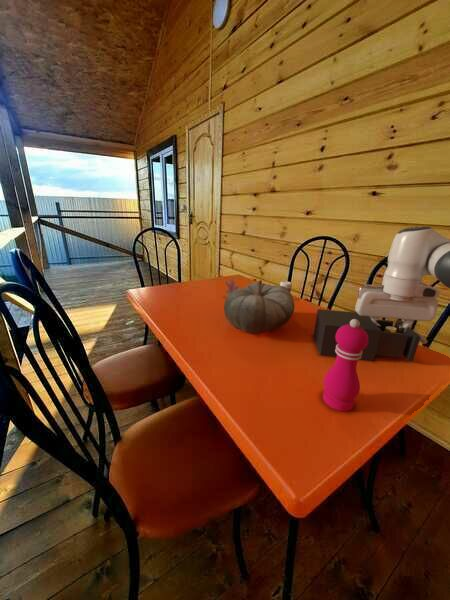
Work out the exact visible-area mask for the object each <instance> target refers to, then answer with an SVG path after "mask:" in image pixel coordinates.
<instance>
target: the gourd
mask: <svg viewBox="0 0 450 600" xmlns="http://www.w3.org/2000/svg"><path fill="white" fill-rule="evenodd" d="M223 312H224V313H223V314H224V316H225V319H226V320H227V322H229V324H231V326H232V327H234V328H235V329H237V330H241V331H243V332H244V333H247V334H249V335H254V336H258V335H262V334H266V333H269V332H273V331H276V330H279V329H281V328H282V327H283V326H285V325H286V324H287V323H288V322H289V321H290V319H291V318H292V316H293V315H294V312H295V300H294V297H293V295H292V293H290V292H289V290H288V289H287V288H286V287H284V286H280V285H275V284H274V285H271V284H268V283H267V284H266V283H264V282H263V281H262V280H258V282H253V283H250V284H248V285H247V286H244V287H243V288H239V289H238V290H234V291H232V292H231V293H230V294H227V295H226V297H225V300H224V305H223Z"/></svg>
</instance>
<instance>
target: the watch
mask: <svg viewBox="0 0 450 600" xmlns="http://www.w3.org/2000/svg"><path fill="white" fill-rule="evenodd" d="M396 330H397V329H396V328H395V326H392V327H391V326H387V327H386V328H385V330H384V332H389V331H390V332H393V333H396Z"/></svg>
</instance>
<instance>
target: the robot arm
mask: <svg viewBox="0 0 450 600" xmlns="http://www.w3.org/2000/svg"><path fill="white" fill-rule="evenodd" d="M425 276H432V277H433V278H435V279H436V280H438V281H439V282H440V283H441V284H442V285H443V286H445V287H447V288H449V289H450V238H448V237H446V236H445V235H442V234H440V233H439V232H437V231H436V230H435V229H434V228H433V227H431V226H423V225H422V226H412V227H406V228H403V229H401V230H399V231H398V232H397V233H396V234H395V235H394V238H393V240H392V243H391V245H390V249H389V253H388V257H387V267H386V269H385V271H384V273H383V277H382V282H381V284H369V283H366V284H365V285H362V286H361V287H360V288H359V289H358V293H357V300H356V303H355V305H354V310H355V311H354V312H357V313H358V314H359V315H360V316H368V317H370V319H371V320H372V321H373V322H374V323H375V324H376V325H377V326H378V327H379V328H380V327H381V326H380V325H379V324H378V323H377V322H376V320H380V319H379V318H383V319H384V318H385V319H395V320H403V322H404V323H403V324H402V325H399V326H398V329H397V330H398V332H399V333H406V329H407V328H408V327H410V326H412V325H413V324H414V321H418V322H419V321H421V322H431V321H433V320H434V319H435V318H436V316H437V312H438V307H439V300H438V299H437V298H439V296H440V294H441V291H440V290H439V289H437V288H435V287H433V286H431V285H429V284H427V283H424V282H423V278H424V277H425Z"/></svg>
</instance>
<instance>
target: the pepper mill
mask: <svg viewBox="0 0 450 600" xmlns="http://www.w3.org/2000/svg"><path fill="white" fill-rule="evenodd" d="M359 325H360V322H359V321H358V320H357V319H352V320H351V321H350V325H344V326H342V327H340V328H339V329H338V330H337V332H336V336H335V338H336V342H337V343H338V344H337V345H336V349H335V352H336V353H337V357H335V358H336V359H335V361H334V364H333V365H332V366H331V368H329V370H328V371H327V372H326V373H325V376H324V378H323V387H324V390H323V393H322V400H323V402H324V403H325V404H326V405H327V406H328V407H329V408H331V409H333V410H336V411H339V412H348V411H350V410H352V409H353V408H354V404H355V398H357V397H358V396H359V394H360V392H361V391H360V389H361V385H360V384H361V383H360V378H359V375H358V372H357V365H358V362H359V361H360V360H359V359H361V357H362V353H363V351H362V350H363V349H364V348H366V346H367V344H368V335H367V333H366V331H365V330H364V329H362V328H361V327H359Z"/></svg>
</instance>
